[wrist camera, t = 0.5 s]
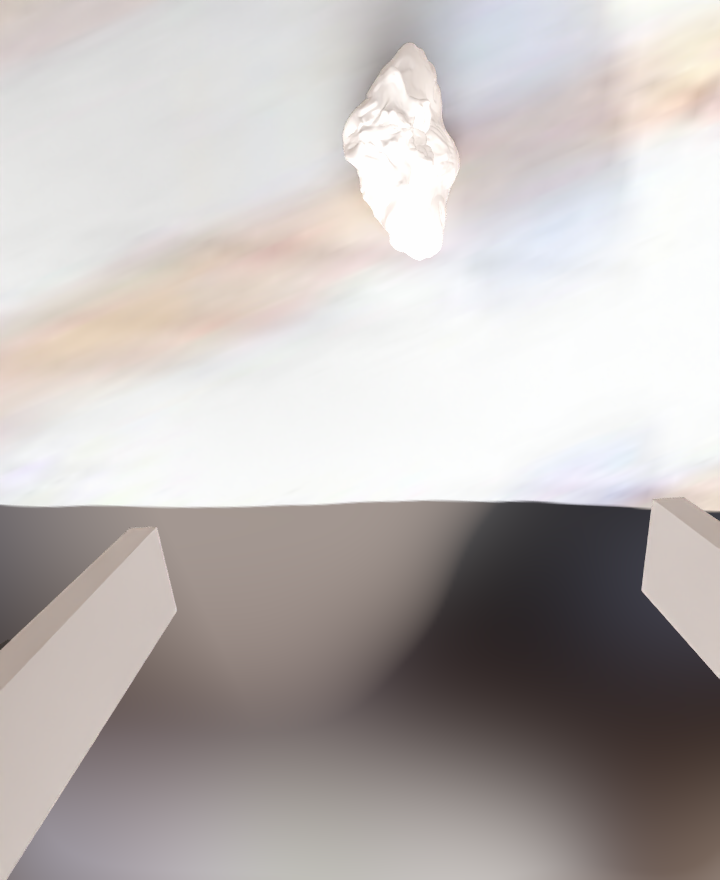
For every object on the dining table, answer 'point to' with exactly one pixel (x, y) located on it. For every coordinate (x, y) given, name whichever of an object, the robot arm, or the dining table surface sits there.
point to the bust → (404, 153)
